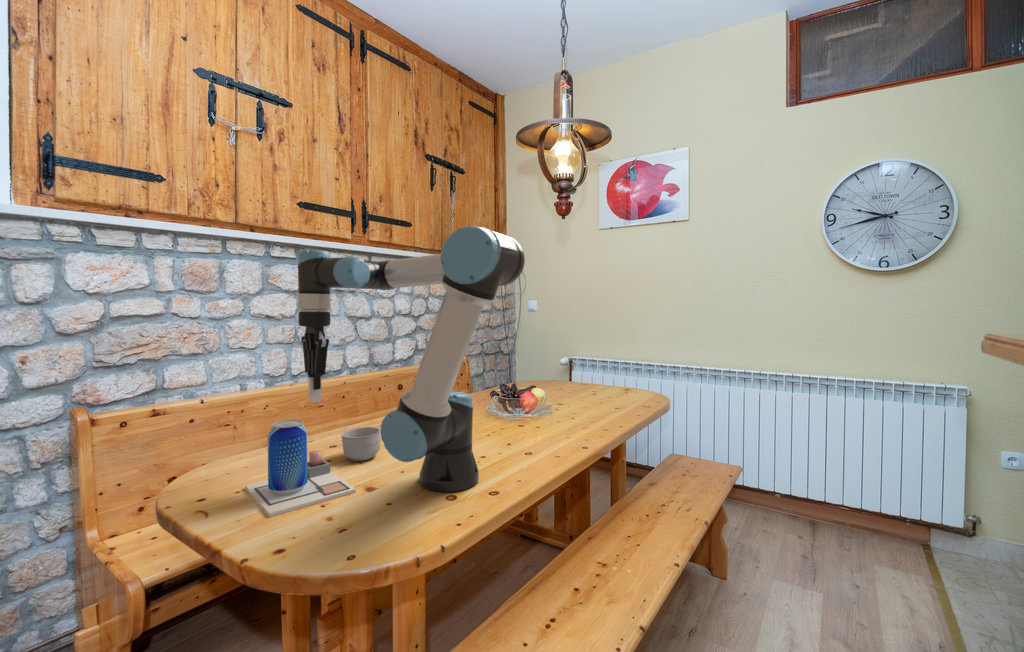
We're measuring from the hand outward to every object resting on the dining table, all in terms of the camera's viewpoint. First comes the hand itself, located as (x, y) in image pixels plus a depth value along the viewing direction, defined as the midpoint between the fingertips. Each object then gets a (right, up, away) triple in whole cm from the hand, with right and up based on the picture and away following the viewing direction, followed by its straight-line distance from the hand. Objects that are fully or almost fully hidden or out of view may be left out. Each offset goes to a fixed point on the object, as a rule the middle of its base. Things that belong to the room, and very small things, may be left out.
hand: (315, 401), depth 118 cm
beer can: (-2, -20, -10) cm, 22 cm away
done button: (0, -17, +1) cm, 17 cm away
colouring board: (0, -20, -8) cm, 22 cm away
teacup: (+7, -19, +17) cm, 26 cm away
